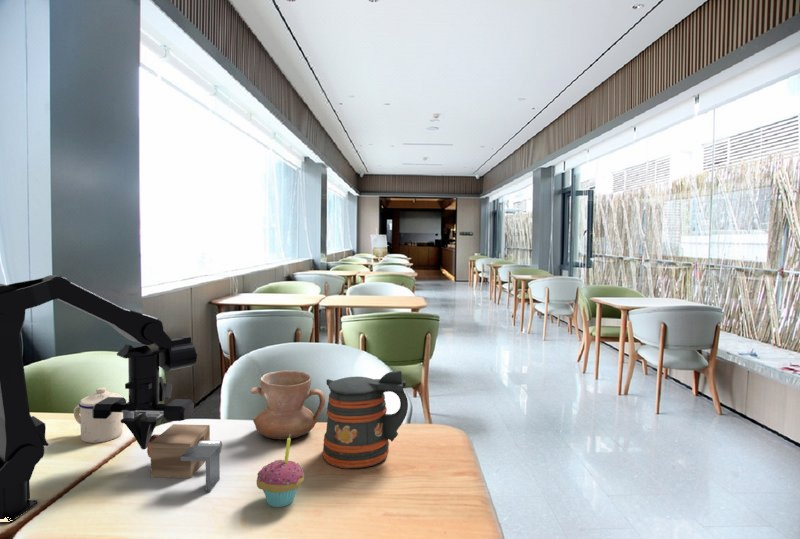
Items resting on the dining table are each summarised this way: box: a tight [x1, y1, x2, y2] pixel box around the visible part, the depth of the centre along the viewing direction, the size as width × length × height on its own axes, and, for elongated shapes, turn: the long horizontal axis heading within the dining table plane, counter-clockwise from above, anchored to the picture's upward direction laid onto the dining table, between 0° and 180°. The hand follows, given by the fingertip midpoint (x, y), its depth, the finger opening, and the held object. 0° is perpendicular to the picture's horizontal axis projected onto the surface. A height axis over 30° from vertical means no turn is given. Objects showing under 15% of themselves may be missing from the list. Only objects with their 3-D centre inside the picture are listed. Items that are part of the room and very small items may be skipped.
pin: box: [146, 434, 223, 459], centre depth 107 cm, size 5×14×5 cm, turn 89°
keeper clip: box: [181, 446, 221, 493], centre depth 99 cm, size 5×6×7 cm
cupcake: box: [256, 434, 305, 508], centre depth 93 cm, size 9×8×12 cm
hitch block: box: [150, 423, 211, 479], centre depth 107 cm, size 10×8×7 cm
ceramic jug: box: [250, 370, 326, 440], centre depth 125 cm, size 18×14×14 cm
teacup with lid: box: [73, 386, 124, 444], centre depth 122 cm, size 12×9×12 cm
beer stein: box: [322, 369, 409, 470], centre depth 113 cm, size 19×15×20 cm
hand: (144, 448), depth 107 cm, fingers closed
